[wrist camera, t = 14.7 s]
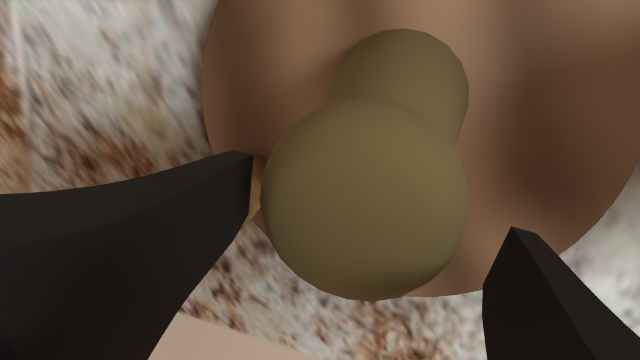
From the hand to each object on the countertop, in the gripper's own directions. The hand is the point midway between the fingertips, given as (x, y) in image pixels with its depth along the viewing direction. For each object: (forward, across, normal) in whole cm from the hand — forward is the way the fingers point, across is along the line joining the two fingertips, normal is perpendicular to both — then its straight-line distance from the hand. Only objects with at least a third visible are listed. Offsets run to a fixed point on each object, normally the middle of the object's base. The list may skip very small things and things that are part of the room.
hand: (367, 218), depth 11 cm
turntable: (+10, 0, +1) cm, 10 cm away
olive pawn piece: (+9, 0, -1) cm, 9 cm away
